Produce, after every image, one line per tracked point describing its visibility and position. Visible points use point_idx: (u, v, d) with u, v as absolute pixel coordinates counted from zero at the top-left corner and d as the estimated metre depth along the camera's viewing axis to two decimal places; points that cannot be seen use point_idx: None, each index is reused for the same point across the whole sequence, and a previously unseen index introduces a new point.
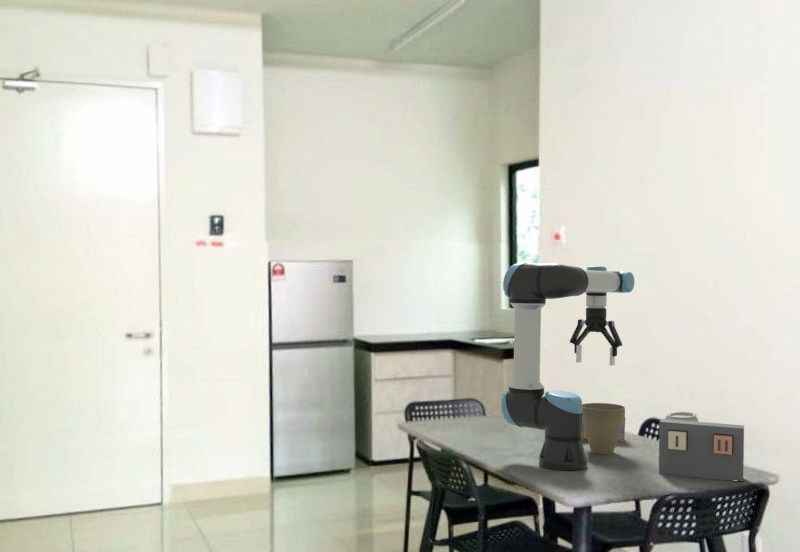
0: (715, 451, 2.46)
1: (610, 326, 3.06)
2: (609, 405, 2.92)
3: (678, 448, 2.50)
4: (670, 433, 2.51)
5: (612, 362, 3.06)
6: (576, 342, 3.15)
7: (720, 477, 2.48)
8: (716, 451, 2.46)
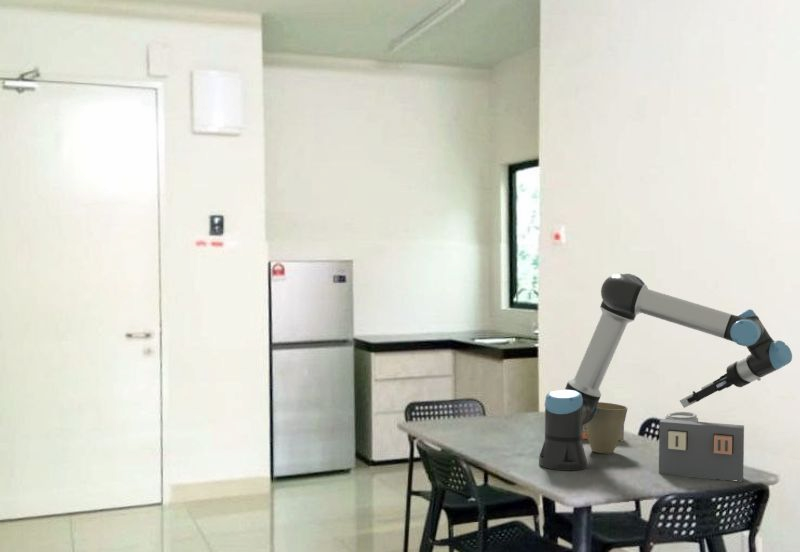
0: (715, 451, 2.46)
1: (714, 383, 2.56)
2: (612, 405, 2.92)
3: (678, 448, 2.50)
4: (670, 433, 2.51)
5: (683, 401, 2.65)
6: None
7: (720, 477, 2.48)
8: (716, 451, 2.46)
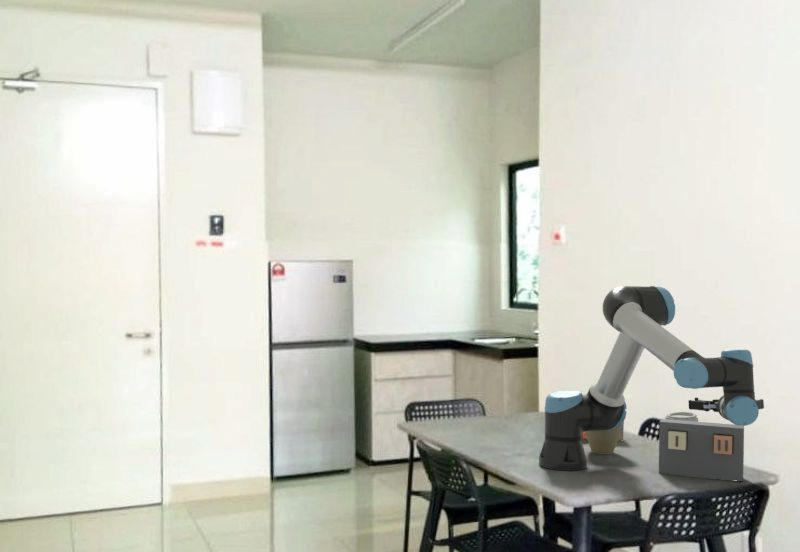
0: (715, 451, 2.46)
1: (704, 401, 2.32)
2: None
3: (678, 448, 2.50)
4: (670, 433, 2.51)
5: None
6: None
7: (720, 477, 2.48)
8: (716, 451, 2.46)
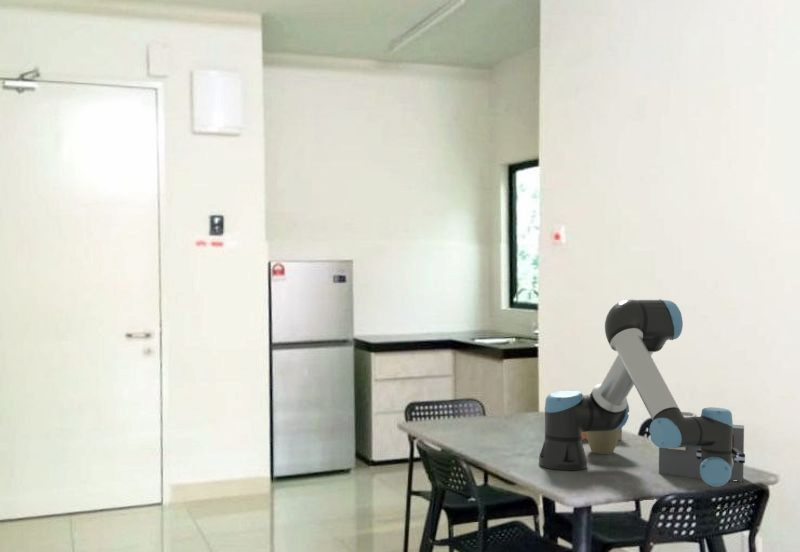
0: None
1: None
2: None
3: (678, 448, 2.50)
4: None
5: None
6: None
7: None
8: None
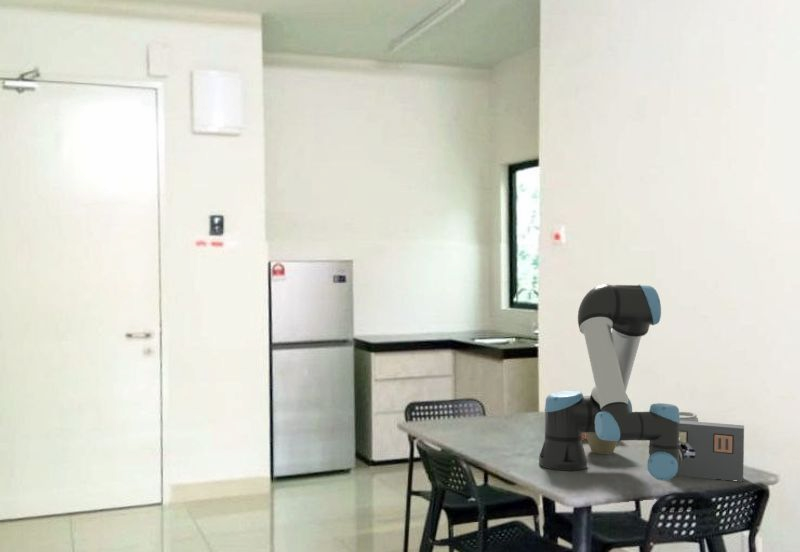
0: (716, 449, 2.48)
1: None
2: None
3: None
4: None
5: None
6: (679, 442, 2.43)
7: (720, 477, 2.48)
8: (717, 449, 2.48)
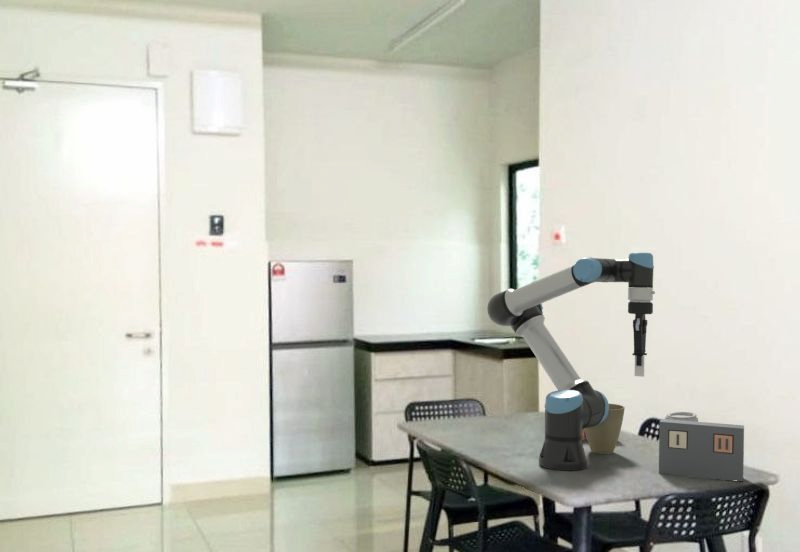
0: (716, 449, 2.48)
1: (633, 329, 2.57)
2: (609, 405, 2.92)
3: (679, 446, 2.53)
4: (671, 432, 2.54)
5: (637, 372, 2.60)
6: None
7: (720, 477, 2.48)
8: (717, 449, 2.48)
